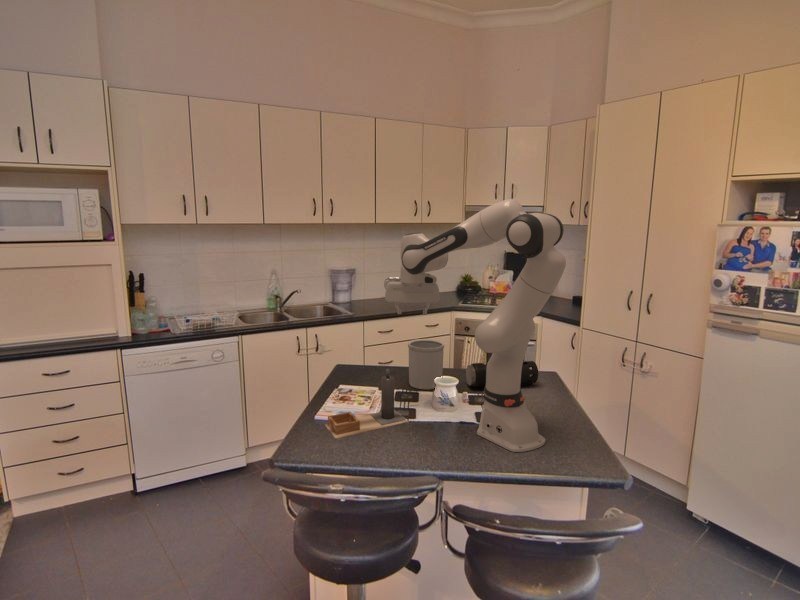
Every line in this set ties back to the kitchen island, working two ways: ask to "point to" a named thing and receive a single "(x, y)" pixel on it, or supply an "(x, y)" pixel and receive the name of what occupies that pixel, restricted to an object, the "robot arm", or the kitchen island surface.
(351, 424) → the cable board
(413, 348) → the utensil holder
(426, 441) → the kitchen island surface
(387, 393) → the plug
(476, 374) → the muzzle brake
